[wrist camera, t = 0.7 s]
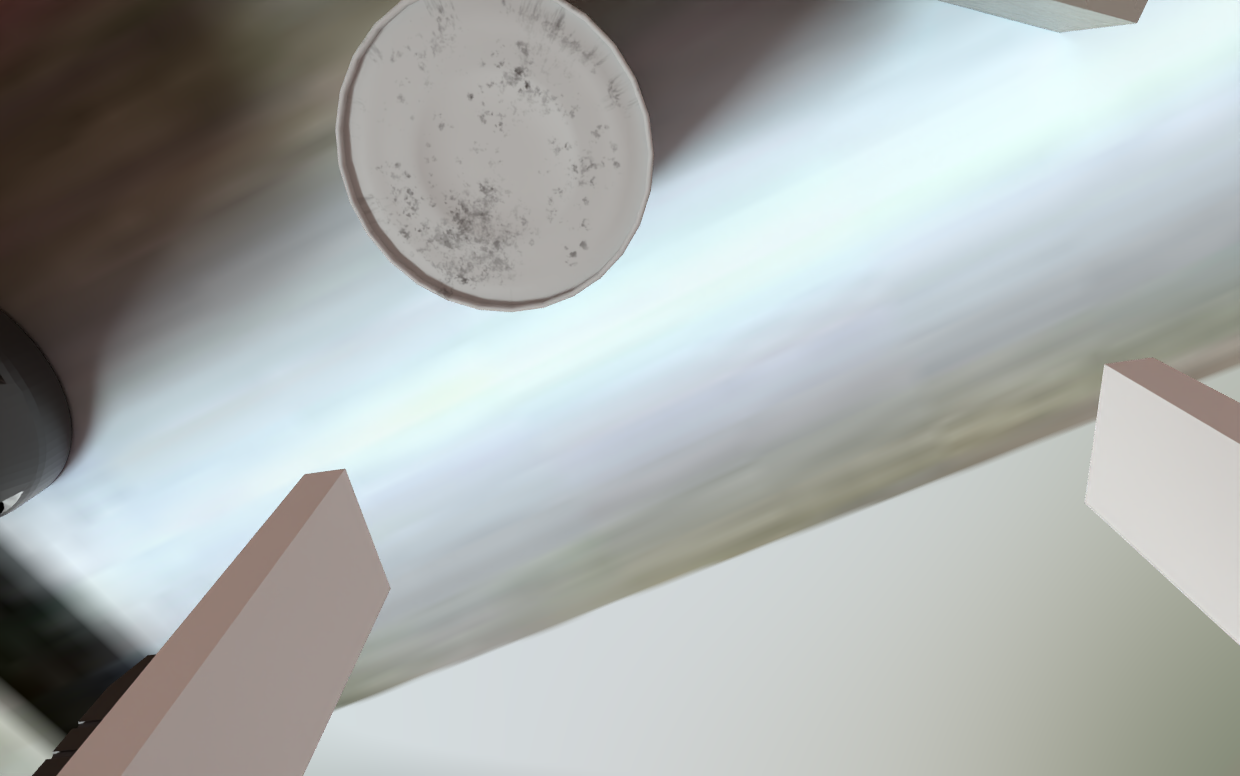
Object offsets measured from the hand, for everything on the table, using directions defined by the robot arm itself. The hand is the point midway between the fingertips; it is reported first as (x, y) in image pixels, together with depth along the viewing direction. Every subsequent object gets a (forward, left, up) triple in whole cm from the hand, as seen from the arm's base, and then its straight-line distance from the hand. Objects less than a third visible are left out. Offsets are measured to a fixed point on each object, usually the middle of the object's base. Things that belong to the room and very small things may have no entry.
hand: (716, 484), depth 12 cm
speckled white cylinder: (-7, +3, -23) cm, 25 cm away
